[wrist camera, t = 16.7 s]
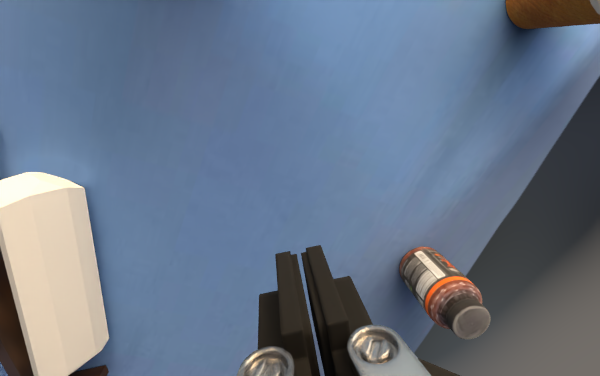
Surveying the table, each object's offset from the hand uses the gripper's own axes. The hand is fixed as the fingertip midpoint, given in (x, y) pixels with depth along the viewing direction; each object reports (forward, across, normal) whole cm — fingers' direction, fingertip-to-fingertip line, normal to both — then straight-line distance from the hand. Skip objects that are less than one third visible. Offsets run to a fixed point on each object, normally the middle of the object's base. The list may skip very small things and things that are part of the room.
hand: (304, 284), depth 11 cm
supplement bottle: (+25, -16, +18) cm, 35 cm away
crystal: (+25, +26, +9) cm, 38 cm away
